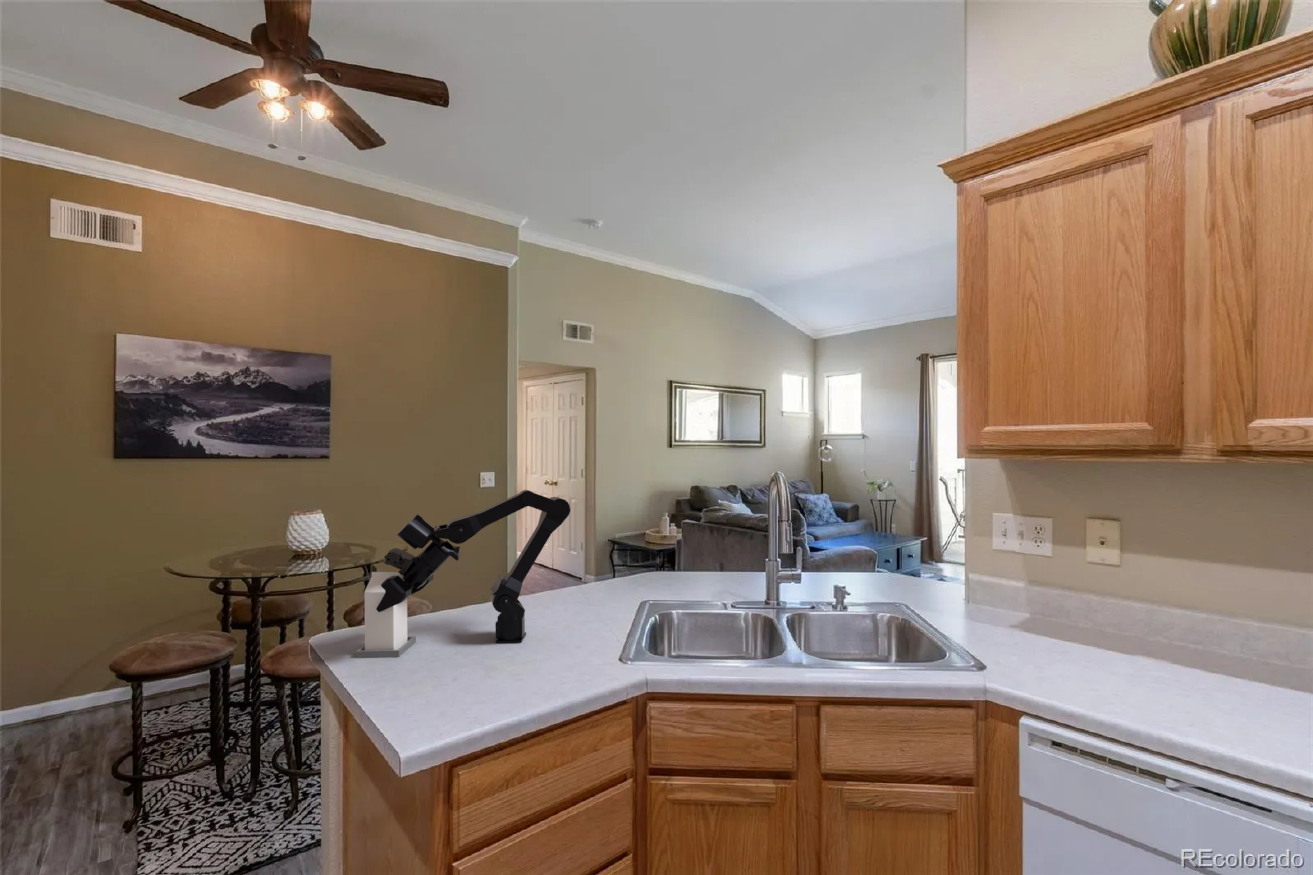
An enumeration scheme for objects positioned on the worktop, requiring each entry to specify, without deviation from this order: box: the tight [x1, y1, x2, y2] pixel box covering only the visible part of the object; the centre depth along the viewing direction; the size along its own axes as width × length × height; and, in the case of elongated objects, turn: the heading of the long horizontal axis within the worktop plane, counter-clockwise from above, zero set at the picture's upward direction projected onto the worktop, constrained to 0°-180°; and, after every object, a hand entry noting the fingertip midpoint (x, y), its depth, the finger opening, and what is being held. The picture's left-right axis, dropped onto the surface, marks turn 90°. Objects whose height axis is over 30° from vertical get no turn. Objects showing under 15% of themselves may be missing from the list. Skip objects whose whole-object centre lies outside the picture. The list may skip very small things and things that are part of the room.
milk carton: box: [364, 571, 408, 650], centre depth 142 cm, size 7×7×19 cm
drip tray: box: [354, 635, 417, 659], centre depth 141 cm, size 10×10×2 cm
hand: (384, 606), depth 142 cm, fingers closed on milk carton, 7 cm apart
